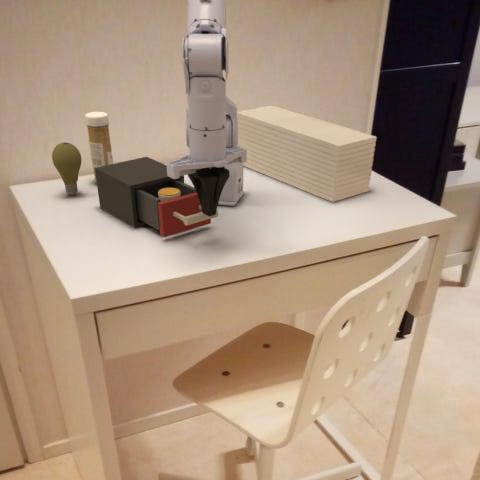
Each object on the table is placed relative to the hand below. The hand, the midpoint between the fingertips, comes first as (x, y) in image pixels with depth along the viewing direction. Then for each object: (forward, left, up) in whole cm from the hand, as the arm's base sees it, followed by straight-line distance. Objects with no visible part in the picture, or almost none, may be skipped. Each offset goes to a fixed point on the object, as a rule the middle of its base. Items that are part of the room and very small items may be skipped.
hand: (209, 213), depth 102 cm
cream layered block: (-7, -42, -6) cm, 43 cm away
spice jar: (+32, -25, -6) cm, 41 cm away
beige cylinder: (+10, -7, -4) cm, 12 cm away
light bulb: (+35, -16, -6) cm, 39 cm away
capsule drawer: (+8, -6, -5) cm, 11 cm away
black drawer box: (+18, -12, -6) cm, 22 cm away
